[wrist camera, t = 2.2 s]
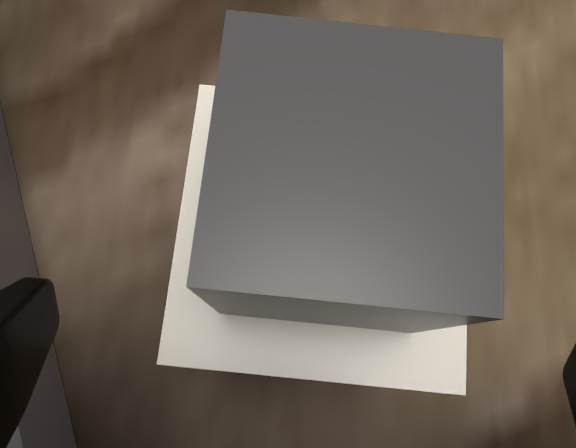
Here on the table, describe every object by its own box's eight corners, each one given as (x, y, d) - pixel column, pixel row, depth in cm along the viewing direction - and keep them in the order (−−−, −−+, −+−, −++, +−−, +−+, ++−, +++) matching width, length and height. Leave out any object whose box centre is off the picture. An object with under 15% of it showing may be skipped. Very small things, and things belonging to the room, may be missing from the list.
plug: (364, 374, 18) (597, 422, 5) (216, 359, 18) (78, 370, 5) (372, 230, 19) (577, -20, 6) (234, 216, 19) (160, -64, 6)
